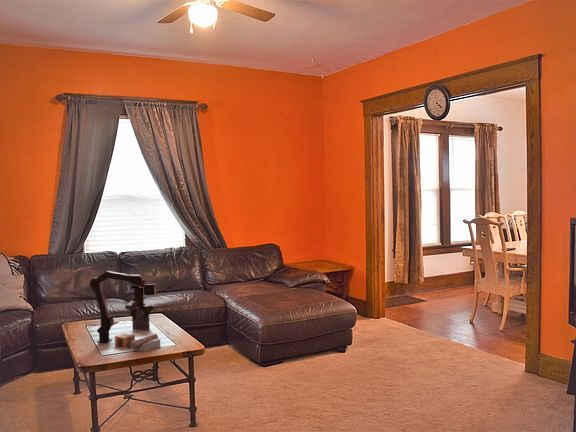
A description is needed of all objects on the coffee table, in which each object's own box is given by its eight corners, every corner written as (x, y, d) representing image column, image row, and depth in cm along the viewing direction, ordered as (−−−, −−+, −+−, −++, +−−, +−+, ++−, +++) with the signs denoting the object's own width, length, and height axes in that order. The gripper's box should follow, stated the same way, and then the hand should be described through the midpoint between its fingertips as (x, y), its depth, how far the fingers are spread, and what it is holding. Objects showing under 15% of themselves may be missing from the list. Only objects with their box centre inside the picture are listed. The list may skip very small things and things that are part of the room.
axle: (137, 349, 302) (137, 342, 302) (132, 347, 305) (132, 340, 304) (158, 341, 316) (158, 334, 315) (153, 339, 318) (153, 333, 317)
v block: (144, 351, 302) (144, 344, 302) (131, 348, 308) (130, 341, 308) (160, 346, 312) (160, 339, 312) (147, 343, 318) (146, 336, 318)
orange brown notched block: (125, 348, 309) (125, 338, 309) (115, 346, 314) (114, 336, 314) (135, 345, 315) (134, 335, 315) (124, 343, 320) (124, 333, 320)
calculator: (150, 329, 354) (149, 306, 353) (146, 330, 349) (146, 308, 349) (135, 328, 357) (134, 306, 356) (132, 330, 352) (131, 307, 352)
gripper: (117, 296, 323) (118, 322, 323) (138, 299, 313) (139, 325, 313) (132, 293, 332) (132, 318, 333) (153, 296, 322) (154, 321, 323)
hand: (139, 321), depth 325 cm, fingers open, 9 cm apart
